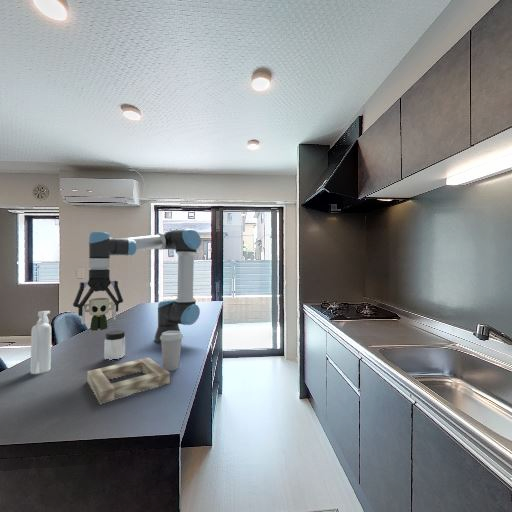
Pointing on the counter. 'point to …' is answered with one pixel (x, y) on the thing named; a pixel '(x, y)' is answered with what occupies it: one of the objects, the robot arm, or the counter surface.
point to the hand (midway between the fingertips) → (99, 321)
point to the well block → (109, 391)
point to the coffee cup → (171, 349)
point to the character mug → (99, 312)
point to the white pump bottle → (41, 344)
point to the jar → (114, 345)
